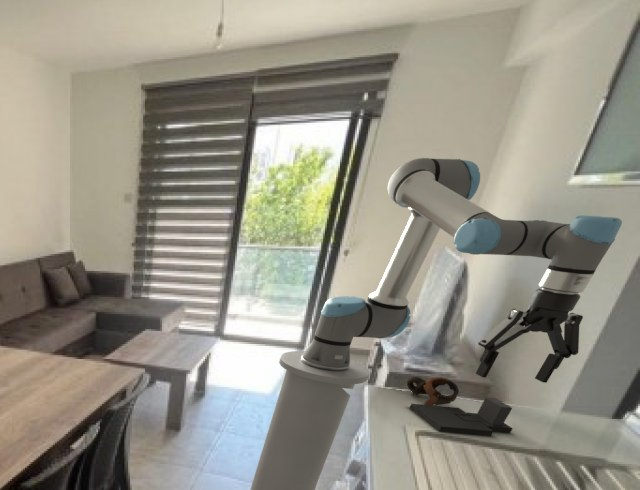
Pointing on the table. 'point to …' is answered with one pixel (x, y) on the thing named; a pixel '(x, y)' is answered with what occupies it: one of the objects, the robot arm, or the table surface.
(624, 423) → the table surface
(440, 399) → the brown double ring
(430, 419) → the large pad
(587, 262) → the robot arm
